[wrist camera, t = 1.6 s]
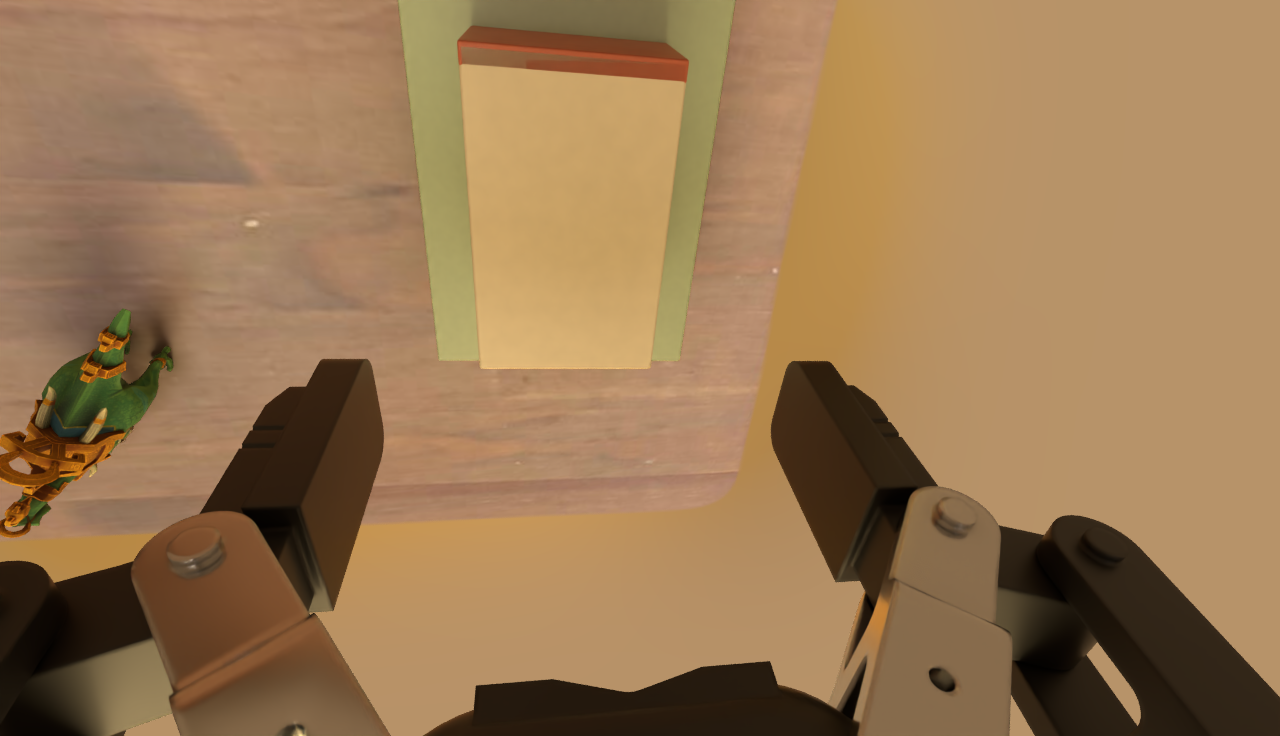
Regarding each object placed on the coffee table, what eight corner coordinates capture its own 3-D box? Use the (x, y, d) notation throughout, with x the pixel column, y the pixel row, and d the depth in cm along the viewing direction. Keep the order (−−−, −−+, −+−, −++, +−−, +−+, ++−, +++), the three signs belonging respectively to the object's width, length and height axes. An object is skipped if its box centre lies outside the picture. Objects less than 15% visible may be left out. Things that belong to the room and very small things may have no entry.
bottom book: (412, -62, 19) (390, -63, 16) (714, -28, 21) (741, -24, 18) (449, 318, 27) (438, 361, 24) (667, 320, 29) (681, 361, 26)
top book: (469, 25, 18) (456, 39, 15) (667, 42, 19) (689, 59, 16) (486, 318, 24) (479, 369, 21) (638, 320, 25) (651, 369, 22)
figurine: (60, 426, 28) (-92, 577, 21) (150, 228, 23) (-6, 340, 17) (136, 453, 29) (16, 603, 22) (234, 271, 25) (121, 391, 18)
